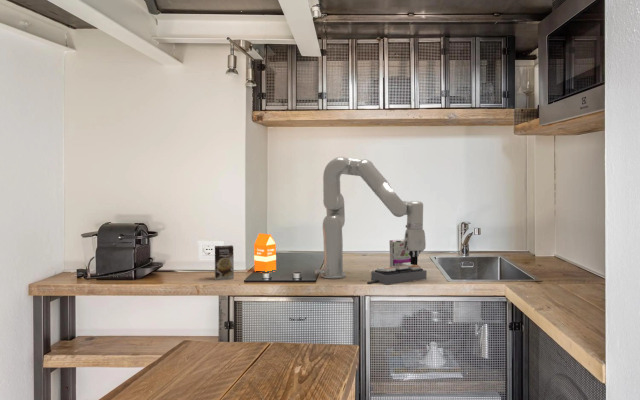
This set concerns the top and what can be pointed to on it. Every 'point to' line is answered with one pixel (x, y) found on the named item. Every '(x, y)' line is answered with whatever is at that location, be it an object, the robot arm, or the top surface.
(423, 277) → the power strip
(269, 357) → the top surface
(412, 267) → the rocker right
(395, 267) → the rocker middle
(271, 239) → the orange juice
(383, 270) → the rocker left
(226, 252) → the coffee box
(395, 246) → the candy bar box
